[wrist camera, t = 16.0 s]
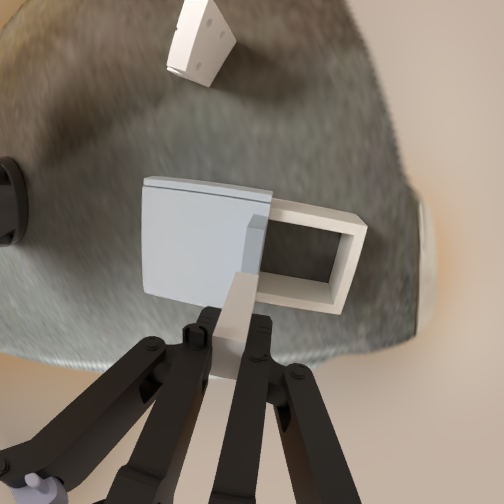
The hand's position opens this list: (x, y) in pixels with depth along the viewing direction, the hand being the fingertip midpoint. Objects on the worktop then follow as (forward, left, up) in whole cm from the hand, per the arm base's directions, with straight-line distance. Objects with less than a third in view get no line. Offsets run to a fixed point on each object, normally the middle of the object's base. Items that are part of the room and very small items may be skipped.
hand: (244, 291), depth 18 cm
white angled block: (-8, +18, -11) cm, 22 cm away
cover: (-5, 0, -8) cm, 9 cm away
